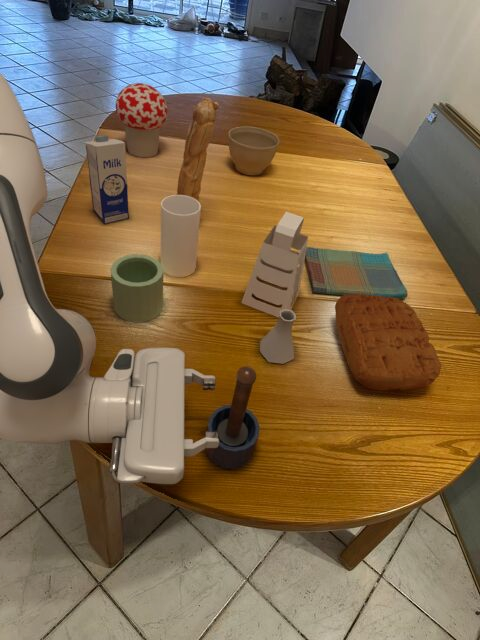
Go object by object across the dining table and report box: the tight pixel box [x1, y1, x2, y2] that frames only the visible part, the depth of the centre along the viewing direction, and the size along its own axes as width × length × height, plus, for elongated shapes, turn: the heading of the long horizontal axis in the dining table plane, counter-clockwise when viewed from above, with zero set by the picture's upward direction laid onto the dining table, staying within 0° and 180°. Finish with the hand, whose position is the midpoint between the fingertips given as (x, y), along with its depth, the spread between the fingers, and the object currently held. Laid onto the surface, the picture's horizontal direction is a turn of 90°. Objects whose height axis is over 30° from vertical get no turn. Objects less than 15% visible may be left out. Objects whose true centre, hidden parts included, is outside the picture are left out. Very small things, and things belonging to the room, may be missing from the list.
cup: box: [159, 194, 202, 278], centre depth 92 cm, size 8×8×16 cm
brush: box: [217, 365, 257, 447], centre depth 60 cm, size 5×5×19 cm
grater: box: [240, 211, 309, 319], centre depth 88 cm, size 10×10×20 cm
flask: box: [259, 309, 297, 365], centre depth 80 cm, size 7×7×10 cm
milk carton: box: [84, 134, 130, 225], centre depth 102 cm, size 7×7×20 cm
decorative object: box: [115, 82, 168, 158], centre depth 131 cm, size 16×16×20 cm
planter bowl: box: [228, 126, 280, 176], centre depth 136 cm, size 16×16×11 cm
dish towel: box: [304, 246, 408, 300], centre depth 104 cm, size 17×23×2 cm
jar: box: [110, 253, 165, 323], centre depth 84 cm, size 10×10×10 cm
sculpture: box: [176, 97, 220, 204], centre depth 102 cm, size 7×9×30 cm
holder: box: [204, 404, 261, 470], centre depth 65 cm, size 8×8×6 cm
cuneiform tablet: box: [334, 294, 442, 391], centre depth 84 cm, size 22×17×8 cm
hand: (216, 409), depth 60 cm, fingers open, 8 cm apart
